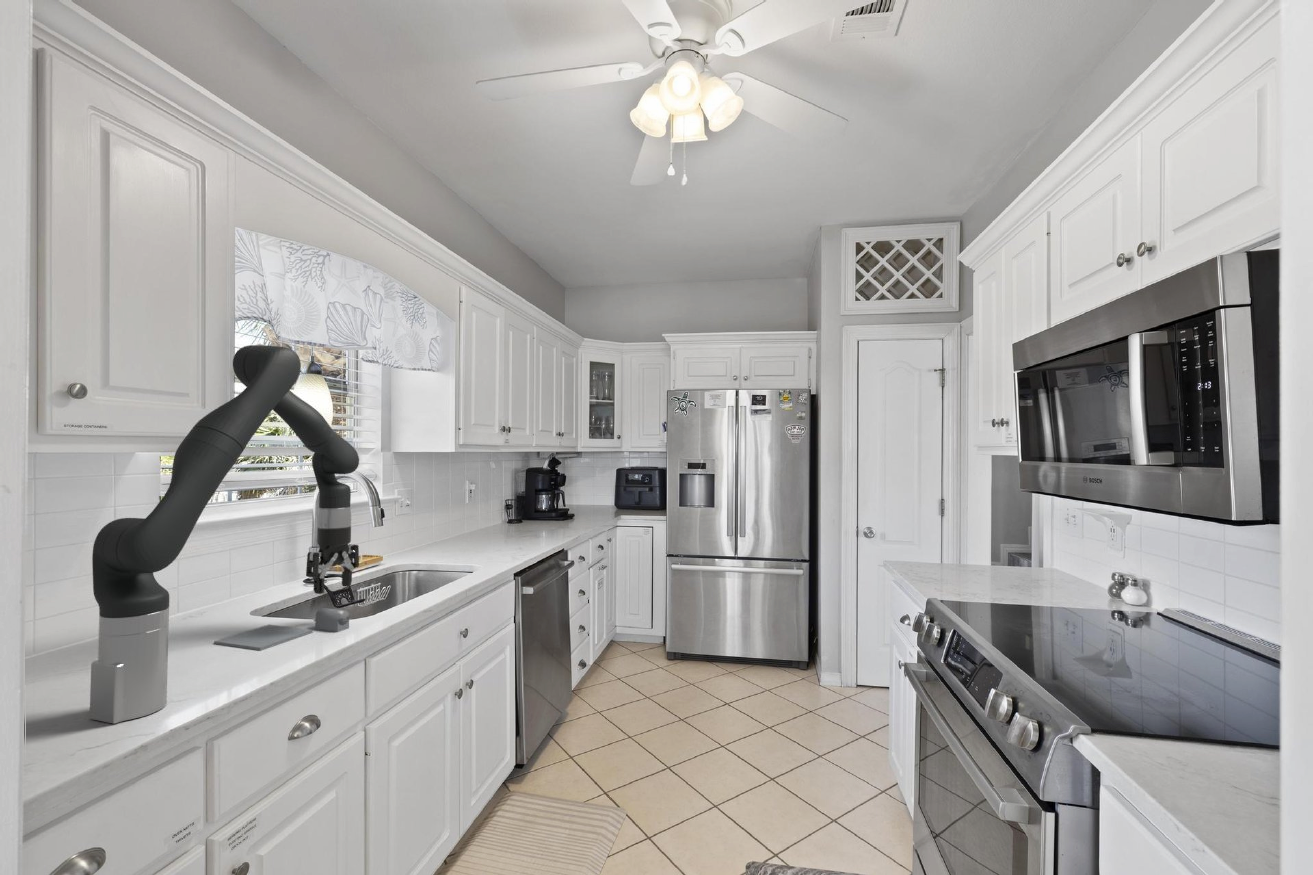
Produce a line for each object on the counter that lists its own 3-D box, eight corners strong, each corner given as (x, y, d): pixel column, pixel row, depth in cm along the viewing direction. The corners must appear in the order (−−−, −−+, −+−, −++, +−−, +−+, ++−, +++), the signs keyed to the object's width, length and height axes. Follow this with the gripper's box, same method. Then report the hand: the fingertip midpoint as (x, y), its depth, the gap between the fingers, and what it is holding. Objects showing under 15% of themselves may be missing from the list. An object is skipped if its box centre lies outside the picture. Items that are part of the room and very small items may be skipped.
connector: (337, 632, 149) (338, 612, 149) (311, 629, 152) (311, 609, 152) (348, 628, 153) (349, 608, 153) (323, 625, 155) (323, 606, 155)
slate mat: (260, 650, 135) (260, 647, 135) (214, 643, 139) (214, 641, 139) (312, 632, 149) (312, 630, 149) (268, 626, 153) (268, 624, 153)
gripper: (323, 529, 144) (321, 597, 144) (367, 522, 158) (366, 584, 158) (298, 528, 147) (297, 595, 146) (344, 521, 160) (343, 582, 160)
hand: (333, 589), depth 152 cm, fingers open, 8 cm apart
